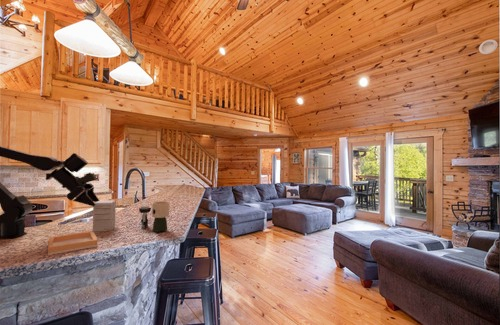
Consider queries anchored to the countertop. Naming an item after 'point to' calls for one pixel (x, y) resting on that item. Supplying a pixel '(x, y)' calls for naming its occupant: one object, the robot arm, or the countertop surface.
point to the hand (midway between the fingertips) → (96, 203)
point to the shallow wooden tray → (71, 242)
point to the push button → (144, 215)
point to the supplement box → (104, 215)
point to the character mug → (160, 215)
